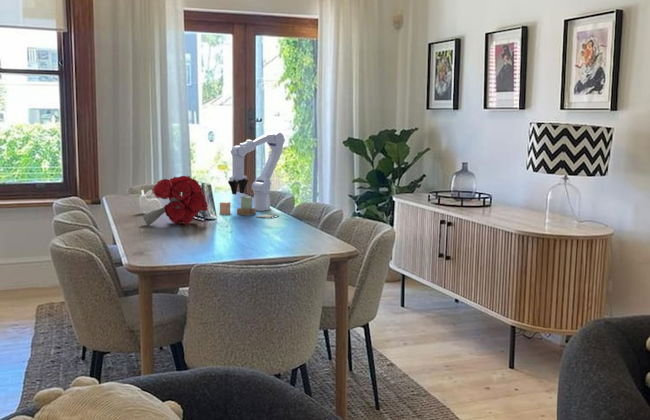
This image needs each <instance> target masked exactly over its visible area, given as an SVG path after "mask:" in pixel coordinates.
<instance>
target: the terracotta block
mask: <svg viewBox="0 0 650 420" xmlns="http://www.w3.org/2000/svg"><path fill="white" fill-rule="evenodd" d="M219 214H221V215H230V214H231V202H229V201H221V202H219Z"/></svg>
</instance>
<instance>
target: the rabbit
mask: <svg viewBox="0 0 650 420" xmlns="http://www.w3.org/2000/svg"><path fill="white" fill-rule="evenodd" d="M144 191H145V190H144V189H141V191H140V194H141V195H139V198H138V202H139V207H140V208H141V209H142V210H143V211H142V214H144V215H145V214H147V213H149V212H152V211H156V210H159V209H161V208H163V207H164V206H162V203H161V201H160V200H159V198H158V199H157V198H156V197H154V198H153V197H152V198H147V197H148V196H150V195H152V194H153V189H149V190H148V191H146V193H145V192H144Z"/></svg>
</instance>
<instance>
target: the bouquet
mask: <svg viewBox="0 0 650 420" xmlns="http://www.w3.org/2000/svg"><path fill="white" fill-rule="evenodd" d="M203 191H204V190H203V188H202V187H201V185H200V184H199V182H198V181H197V180H196V179H194V178H191V176H189V175H187V176H186V175H181V176H174V177H172V178H170V179H167V178H163V179H161V180H159V181H158V182H157V183H156V184H155V185H154V186H153V188H152V193H153V194H154V197H155V198H156V199H157V198H158V199H162V200H169V202H168V203H167V204H164V206H162V207H163V208H161V209H159V210H156V211H152V212H149V213H147V214H144V215H142V219H143V220H144V222H145V223H146V225H147V226H150V225H152V224H153V223H154V222H156V221H157V220H158V219H159V218H160V217H161V216H162V215H163V214H164V213H165V216H167V218H168V219H169V221H170V222H171V223H174V224H182V223H183V225H185V226H188V224H190V223H191V222H193V219H194V218H195V216H197V215H198V214H199V213H200V212H201V211H204V212H208V210H209V209H208V207H209V206H208V202H207V199H206V195H205V194H204V192H203ZM182 194H183V195H182Z"/></svg>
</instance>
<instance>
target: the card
mask: <svg viewBox="0 0 650 420" xmlns="http://www.w3.org/2000/svg"><path fill="white" fill-rule="evenodd" d="M277 215H278V214H268V213H264V214H260V215H256V216H255V218H256V217H258V218H257V219H265V218H271V219H273V218H272V217H275V216H277ZM278 216H279V217H280V215H278ZM275 218H276V217H275Z"/></svg>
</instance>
